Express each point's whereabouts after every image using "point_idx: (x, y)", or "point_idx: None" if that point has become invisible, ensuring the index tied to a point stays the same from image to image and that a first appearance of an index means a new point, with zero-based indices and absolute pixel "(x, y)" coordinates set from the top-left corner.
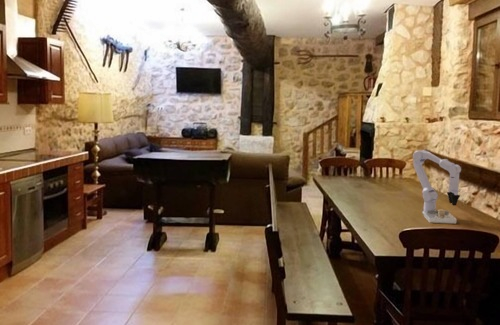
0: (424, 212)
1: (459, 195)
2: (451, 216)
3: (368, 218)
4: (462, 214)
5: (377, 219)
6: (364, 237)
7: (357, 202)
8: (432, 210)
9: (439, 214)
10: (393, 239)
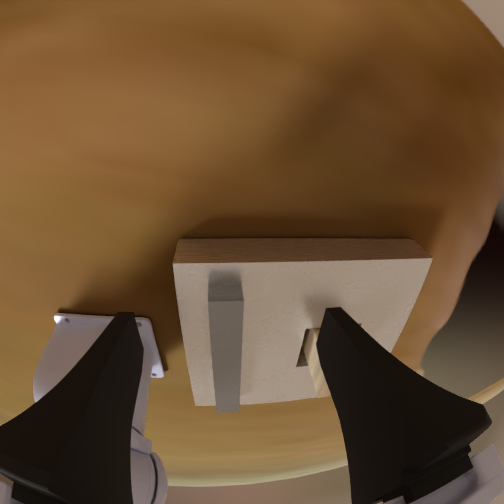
0: (210, 403)
1: (486, 428)
2: (353, 278)
3: (278, 467)
4: (17, 93)
5: (290, 459)
6: None
7: None
8: (223, 394)
9: None
10: (470, 397)
